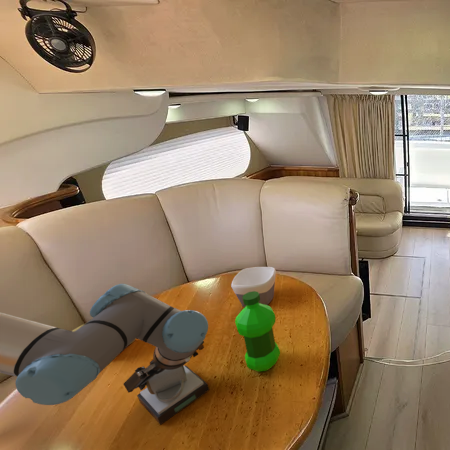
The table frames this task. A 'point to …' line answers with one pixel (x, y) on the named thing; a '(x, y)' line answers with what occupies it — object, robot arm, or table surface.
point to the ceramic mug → (167, 382)
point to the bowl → (255, 283)
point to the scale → (168, 409)
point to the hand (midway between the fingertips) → (163, 371)
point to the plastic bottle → (258, 333)
